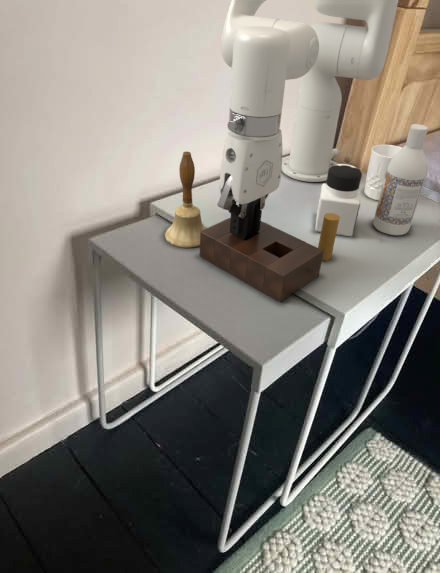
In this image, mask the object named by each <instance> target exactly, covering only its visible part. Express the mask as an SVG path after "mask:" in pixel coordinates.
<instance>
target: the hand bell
mask: <svg viewBox="0 0 440 573" xmlns="http://www.w3.org/2000/svg"><path fill="white" fill-rule="evenodd" d="M195 174H196V170H195V162H194V159H193V157H192V153H191V152H190V151H184V152H182V157H181V160H180V162H179V179H180V182H181V186H182V205H179V206H177V207H176V208H175V211H174V217H173V222H172V224H171V225H170V226H169V227H168V228H167V229H166V230H165V233H164V239H165V241H167V242H168V243H169V244H170V245H173V246H175V247H177V248H183V249H187V248H189V249H191V248H198V247H200V232H201V231H203V230H205V229H207V227H205V225H204V224H203V220H202V217H201V210H200V208H199V207H198V206H196V205H193V190H192V189H193V185H194V180H195Z"/></svg>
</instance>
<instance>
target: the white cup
mask: <svg viewBox="0 0 440 573" xmlns="http://www.w3.org/2000/svg"><path fill="white" fill-rule="evenodd" d="M402 148H403V147H401V146H399V145H394V144H376V145H375V144H374V145H373V146H372V147H371V149H370V150H371V151H370V156H369V161H368V167H367V171H366V172H367V173H366V177H365V185H364V190H363V192H364V195H365V196H366V197H368V198H369V199H371V200H375V201H379V198H380V194H381V190H382V186H383V182H384V179H385V175H386V171H387V168H388V165H389V163H390V161H391V159H392V158H393V157H394V156H395V154H396V153H397V152H398V151H400V150H401V149H402Z"/></svg>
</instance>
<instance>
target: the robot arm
mask: <svg viewBox="0 0 440 573" xmlns="http://www.w3.org/2000/svg"><path fill="white" fill-rule="evenodd" d="M266 1H267V0H230V3H229V7H228V10H227V13H226V17H225V21H224V24H223V28H222V29H223V30H222V33H221V39H220V52H221V56H222V59H223V61H224V63H225V64H226V65H227V66H229V68H231V79H230V95H229V96H230V98H229V111H228V112H229V114H228V122H227V129H228V132H227V133H226V136H225V140H224V146H223V151H222V157H221V162H220V171H219V172H220V173H219V194H220V196H219V199H218V202H217V207H219V208H221V209H223V210H225V211H228V213H229V214H230V217H231V219H230V233H231V234H233V235H235V236H237V237H239V238H241V239H244V238H246V235H247V224H248V217H247V216H245V215H246V209H247V203H250V202H252V201H255V209H254V219H253V229H252V230H253V231H255V232H258V231H259V230H260V223H261V221H262V214H263V209H265V206H266V199H267V198H268V197H269V195H270V194H271V193H274V192H275V191H276V190H278V188H279V187H280V184H281V178H282V173H283V174H284V175H286V176H287V177H289V178H291V179H294V180H297V181H301V182H306V183H322V182H326V181H327V176H328V170H329V168H330V167H331V166H333V165H332V164H331V161H332V160H333V159H334V158H336V157H338V156H339V155H340V150H339V149H338V148H334V144H335V139H336V138H335V137H336V133H337V128H338V122H339V119H340V118H339V117H340V111H341V108H342V101H343V97H342V91H341V87H340V85H339V84H338V81H337V79H336V77H341V78H348V79H354V80H355V79H356V80H361V81H371V80H375V79H376V78H378V77H380V74H381V73H382V72H383V69H384V67H385V63H386V60H387V56H388V51H389V48H390V47H389V46H390V42H391V37H392V33H393V27H394V23H395V19H396V14H397V8H398V4H399V0H313V6H314V9H315V10H316V12H318V13H319V14H321V15H324V16H328V17H334V18H340V19H348V20H349V19H351V20H358V21H364V22H365V23H366V25H367V27H366V26H360V25H359V26H358V25H351V24H345V23H338V22H337V23H335V22H315V23H313V24H311V25H310V24H307V23H305V22H301V21H297V20H288V19H280V18H274V17H267V16H259V15H258V16H257V15H255V14H256V13H257V11H258V10H259V9H260V7H261V6H262V5H263V4H264V3H265V2H266ZM297 79H299V84H298V93H297V100H296V107H295V114H294V122H293V123H294V124H293V128H292V137H291V143H290V144H291V145H290V152H289V158H288V159H286V160H283V135H282V129H281V123H282V113H283V105H284V98H285V97H284V96H285V88H286V87H285V86H286V81H289V80H297ZM237 203H238V204H237ZM239 204H240V207H239Z"/></svg>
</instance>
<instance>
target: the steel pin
mask: <svg viewBox="0 0 440 573" xmlns="http://www.w3.org/2000/svg"><path fill="white" fill-rule="evenodd" d="M238 206H239V207H240V204H239V203H238ZM254 209H255V201H252V202H250V203H247V209H246V215H245V216H247V217H248V224H247V235H246V238H244V240H245V241H246V240H248V239H250V238H252V229H253V219H254Z"/></svg>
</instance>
